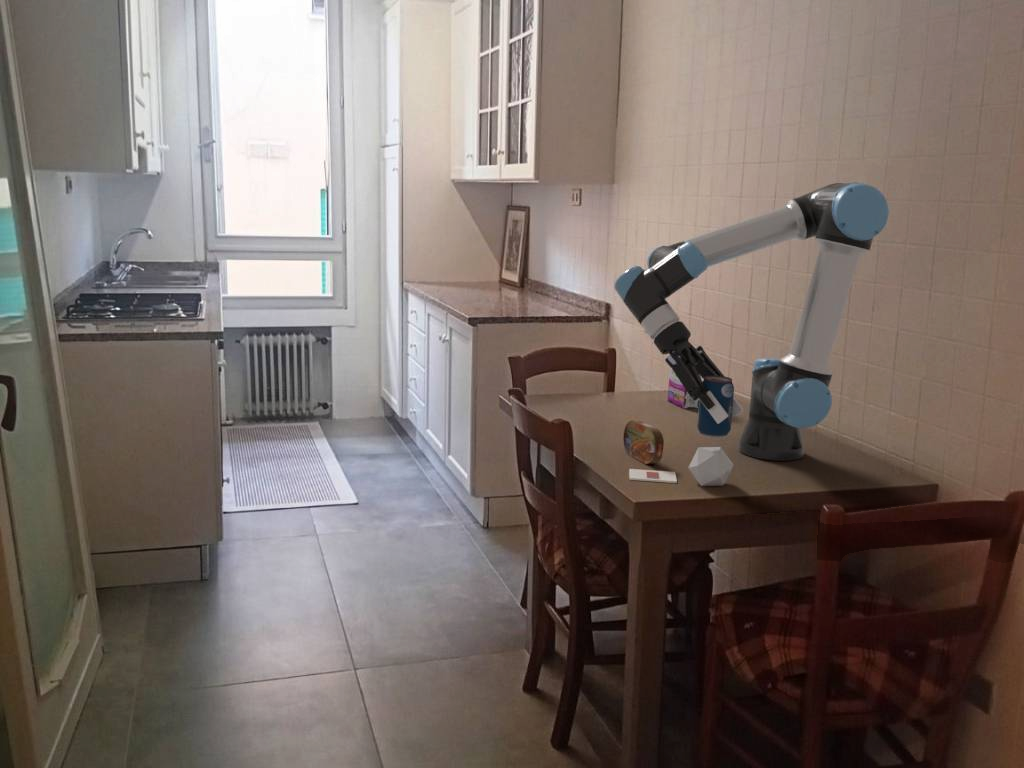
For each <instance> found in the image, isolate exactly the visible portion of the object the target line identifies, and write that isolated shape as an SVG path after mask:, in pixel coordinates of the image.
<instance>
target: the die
mask: <svg viewBox="0 0 1024 768" xmlns="http://www.w3.org/2000/svg"><path fill="white" fill-rule="evenodd" d="M688 465H689V466H688V469H689V471H690V472H691V475H693V476H694V479H695V480H696V481H697V482H698V484H699V486H700V487H711V486H712V487H713V486H714V487H715V486H716V487H717V486H719V487H720V486H724V485H725V483H726V481H727V480H728V478H729V475H730V473H731V472H732V470H733V467H734V463H733V462H732V460H731V459H730V458H729V457H728V454H726V452H725V451H724V449H723V448H722V447H721V446H709V447H708V446H704V447H703V446H702V447H700V446H699V447H698V448H697V450H696V452H695V453H694V455H693V457H692V460H691V461H690V463H689V464H688Z"/></svg>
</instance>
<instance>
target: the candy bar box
mask: <svg viewBox="0 0 1024 768" xmlns="http://www.w3.org/2000/svg"><path fill="white" fill-rule="evenodd" d="M668 376H669V378H668V389H667V390H668V391H667V402H669V403H671V404H674V405H676V406H677V407H680V408H682V409H684V410H687V409H688V410H690V409H693V410H695V409H699V398H698V399H697V400H693V397H694V396H693V397H691V396H690V395H689V394H688V392H687V391H686V389H685V388H684V386H683V385H682V383H681V382H680V380H679V378H678V377H677V375H676V374H675V372H674V371H673V369H672V368H671V367H670V366H669V375H668ZM699 376H700V375H699ZM700 378H701V379H702V377H701V376H700ZM691 390H692V389H691Z"/></svg>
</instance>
